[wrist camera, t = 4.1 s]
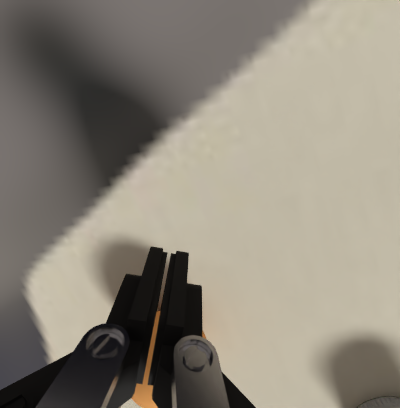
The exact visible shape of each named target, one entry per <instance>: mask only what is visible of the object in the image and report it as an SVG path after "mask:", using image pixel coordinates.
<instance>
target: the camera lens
mask: <svg viewBox="0 0 400 408" xmlns="http://www.w3.org/2000/svg"><path fill="white" fill-rule="evenodd" d="M357 408H400V398H396V397H380V398H375V399H372V400H369V401H367V402H364V403H363V404H361V405H360V406H358V407H357Z"/></svg>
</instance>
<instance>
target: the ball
mask: <svg viewBox="0 0 400 408" xmlns="http://www.w3.org/2000/svg"><path fill="white" fill-rule="evenodd" d="M159 316H160V311H157V312H156V317H155V322H154V327H153V333H152V338H151V343H150V348H149V353H148V358H147V363H146V369H145V374H144V379H143V384H136V388H135V393H134V394H133V397H132V399H133V401H134V402H135V403H136V404H138V405H139V406H141V407H142V408H158V407H157V406H156V404H155V403H154V401H153V400H152V390H153V386H152V385H147V384H148V379H149V373H150V367H151V362H152V356H153V350H154V345H155V339H156V333H157V328H158V322H159ZM202 337H203V338H205V339H206V337H205V334H204V332H203V331H202Z"/></svg>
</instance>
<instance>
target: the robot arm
mask: <svg viewBox="0 0 400 408" xmlns="http://www.w3.org/2000/svg"><path fill="white" fill-rule="evenodd" d="M188 256H189V253H186V252H180V251H176V254H172V253H171V257H170V263H169V268H168V273H167V278H166V284H165V289H164V294H163V300H162V305H161V311H160V316H159V322H158V328H157V333H156V339H155V345H154V350H153V356H152V362H151V367H150V373H149V379H148V384H147V385H152V386H153V390H152V400H153V401H154V403H155V404H156V406H157V407H158V408H256V407H255V406H254V405H253V404H252V403H251V402H250V401H249V400H248V399H247V398H246V397H245V396H244V395H243V394H242V393H241V392H240V391H239V389H238V388H237V387H236V386H235V385H234V384H233V383H232V382H231V381H230V380H229V379H228V378H227V377H226V376H225V375H224V374H223V373H222V372H221V367H220V363H219V358H218V354H217V352H216V349H215V347H214V346H213V345H212V344H211V343H210V342H209V341H208V340H207V339H205V338H203V337H202V287H201V286H200V285H194V284H188V283H187V272H188ZM166 257H167V253H166V252H163V249H162V248H157V247H151V248H150V251H149V254H148V257H147V260H146V263H145V267H144V270H143V273H142V276H137V275H131V274H126V275H125V278H124V280H123V282H122V285H121V287H120V290H119V292H118V295H117V297H116V300H115V302H114V305H113V307H112V310H111V312H110V315H109V317H108V320H107V322H106V324H100V325H98V326H95V327H93V328H92V329H90V330H89V331H88V332H87V333H86V334H85V335H84V336H83V338H82V339H81V341H80V342H79V344H78V345H77V347H76V348H75V350H74V351H73V352H72V353H70V354H68V355H66V356H64V357H62V358H60V359H59V360H57V361H55V362H53V363H51V364H49V365H47V366H45V367H43V368H42V369H40V370H38V371H36V372H34V373H32V374H30V375H28V376H26V377H24V378H23V379H21V380H19V381H17V382H15V383H13V384H11V385H9V386H7V387H6V388H3V389H2V390H0V408H121V405H123V404H124V403H125V402H127V401H128V400H129V399H130V398H132V397H133V394H134V393H135V388H136V384H143V379H144V374H145V369H146V363H147V358H148V353H149V348H150V343H151V338H152V333H153V327H154V322H155V317H156V312H157V307H158V302H159V296H160V290H161V285H162V279H163V274H164V268H165V263H166Z"/></svg>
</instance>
